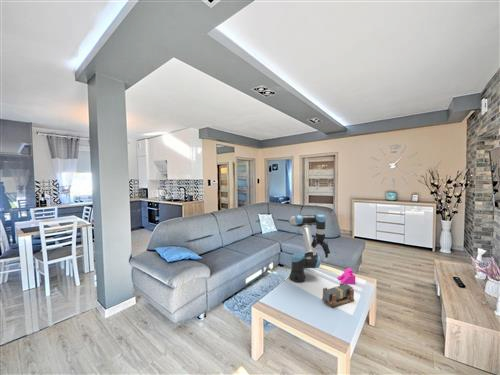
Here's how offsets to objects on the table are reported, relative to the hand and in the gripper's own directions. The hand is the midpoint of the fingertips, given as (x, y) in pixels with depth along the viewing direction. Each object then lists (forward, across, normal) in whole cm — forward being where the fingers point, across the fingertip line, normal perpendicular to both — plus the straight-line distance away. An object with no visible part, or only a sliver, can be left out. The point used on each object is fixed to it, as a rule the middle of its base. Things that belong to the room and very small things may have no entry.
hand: (319, 257), depth 178 cm
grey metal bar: (+25, +17, +4) cm, 31 cm away
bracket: (+29, -2, +33) cm, 44 cm away
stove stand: (+29, +17, +4) cm, 34 cm away
